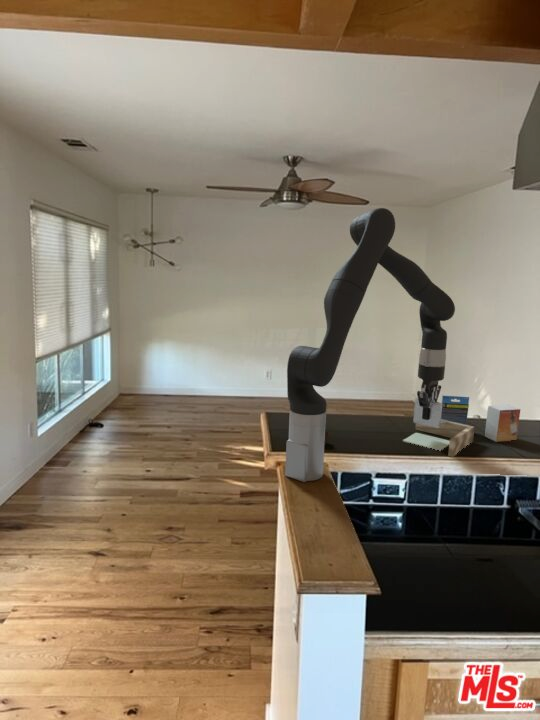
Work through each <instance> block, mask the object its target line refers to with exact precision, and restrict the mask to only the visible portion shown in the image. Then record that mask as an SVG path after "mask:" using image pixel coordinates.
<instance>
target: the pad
mask: <svg viewBox="0 0 540 720" xmlns="http://www.w3.org/2000/svg"><path fill="white" fill-rule="evenodd" d="M402 442H403V443H407V444H410V443H411V445H414V444H415V446H418V445H419V447H422V446H423V447H422V448H426V447H427V448H426V449H430V448H432V449H431V450H433V449H435V450H434V451H437V450H439V451H438V452H441V450H442V451H444V448H445V449H446V448H447V447H449V442H450V439H449V440H448V439H443V438H439V437H435V436H432V435H428V434H423V433H420V432H414V433H412V434H411V435H409V436H408V437H406V438H404V439H402Z"/></svg>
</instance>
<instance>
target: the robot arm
mask: <svg viewBox="0 0 540 720" xmlns="http://www.w3.org/2000/svg"><path fill="white" fill-rule="evenodd" d="M395 232H396V219H395V215H394V214H393V212H392V211H391V210H389V209H388V208H385V207H379V208H374V209H371V210H368V211H367V212H364V213H362V214H360V215H358V216H356V217H354V218H353V220H352V221H351V222H350V225H349V235H350V238H351V240H352V241H353V243H354V244H355V245H356V246H357V247H356V249H355V250H354V252H353V253H352V254H351V256H349V257H348V259H347V260H346V261H345V262H344V263H343V264H342V265H341V266H340V268H339V269H338V271H337V272H336V273H335V274H334V276H333V278H332V279H331V282H330V284H329V286H328V289H327V291H326V293H325V295H324V298H323V309H324V315H325V320H326V332H325V335H324V338H323V341H322V343H321V345H320V347H312V346H308V345H307V346H306V345H299V346H296V347H294V348H293V349H292V350H291V352H290V354H289V356H288V360H287V365H286V366H287V369H286V379H287V381H286V382H287V383H286V384H287V387H286V388H287V391H286V393H287V400H288V402H289V418H288V419H289V421H288V440H286V443H285V444H286V448H285V449H286V450H285V476H286V477H288V478H291V479H294V480H297V481H300V482H303V483H306V482H310V481H317V480H319V479H321V478H322V477H323V476H324V458H325V445H326V444H325V429H326V422H327V400H326V398H325V397H323V396H322V395H321V394H320V393H319V392H317V390H316V389H315V388H314V387H320V388H321V387H326V386H327V385H329V384H330V383H331V381H332V380H333V377H334V376H335V374H336V371H337V368H338V366H339V362H340V359H341V355H342V353H343V350H344V346H345V343H346V340H347V337H348V335H349V332H350V329H351V327H352V324H353V322H354V320H355V317H356V315H357V313H358V311H359V309H360V307H361V304H362V302H363V300H364V297H365V295H366V292H367V289H368V287H369V284H370V282H371V280H372V278H373V276H374V273H375V271H376V270H377V267H378V265H380V266H381V267H383V269H384V270H385V271H386V272H388V273H389V274H390V275H391V276H392V277H393V278H394V279H395V280H396V281H397V282H398V283H399V284H400V285H401V287H403V289H404V290H405V291H406V293H407V294H408V295H409V296H410V297H411V298H412V299H413V300H415V301H417V302H419V303H420V305H419V309H418V310H419V321H420V328H421V333H422V334H421V335H422V337H421V346H420V351H419V357H418V366H417V367H418V369H417V377H418V379H421V380H422V383H421V386H420V390H418V391H416V392H417V393H416V395H417V398H418V401H419V405H420V406H422V407H423V412H422V419H424V420H429V419H430V410H431V402H432V401H434V402H438V399H439V396H440V392H441V389H442V385H441V384H439V381H440V382H441V381H442V380H444V378H445V371H446V361H447V360H446V359H447V354H446V353H447V352H446V351H447V350H446V349H447V341H448V340H447V339H448V333H447V331H446V329H444V328H443V327H442V325H441V322H445V321H446V322H447V321H449V320H451V318H453V317H454V315H455V311H456V306H455V303H454V301H453V300H452V297H450V296H449V295H448V294H447V292H445V291H444V290H442V289H441V288H440V287H439V286H438V285H437V284H435V283H434V282H432V280H431V279H430V278H429V276H428V275H427V274H426V272H424V270H423V269H422V268H421V267H420V266H419V265H418V264H417V263H416V262H414V261H413V260H411V259H410V258H408V257H407V256H404V255H403V254H401V253H399V252H398V251H396V250H394V249H393V248H392V247H391V246H389V244H390V242H391V241H392V240H393V237H394V233H395Z"/></svg>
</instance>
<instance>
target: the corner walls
mask: <svg viewBox="0 0 540 720" xmlns="http://www.w3.org/2000/svg"><path fill="white" fill-rule="evenodd" d="M414 429H415V431H421V432H425V433H428V434H433V435H436V436H437V435H438V436H441V437H445V438H449V441H450V442H449V446H448V452H447V453H448V454H447V456H448V457H451V458H454V457H455V456H457V455H458V454H459V453H460V452H461V450H462V449H463V448H464V449H466V448H467V447H468V446H469V445H471V444H472V443H473V442H474V434H475V426H473V425H470V424H466V425H465V424H460V423H456V422H451V421H447V420H446V424H445V425H443V426H441V427H440V428H435V427H431V426H426V425H422V424H418V423H415V428H414ZM470 443H471V444H470ZM467 445H468V446H467ZM466 446H467V447H466ZM464 449H463V450H464ZM463 450H462V451H463ZM459 451H460V452H459ZM458 452H459V453H458ZM457 453H458V454H457Z"/></svg>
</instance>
